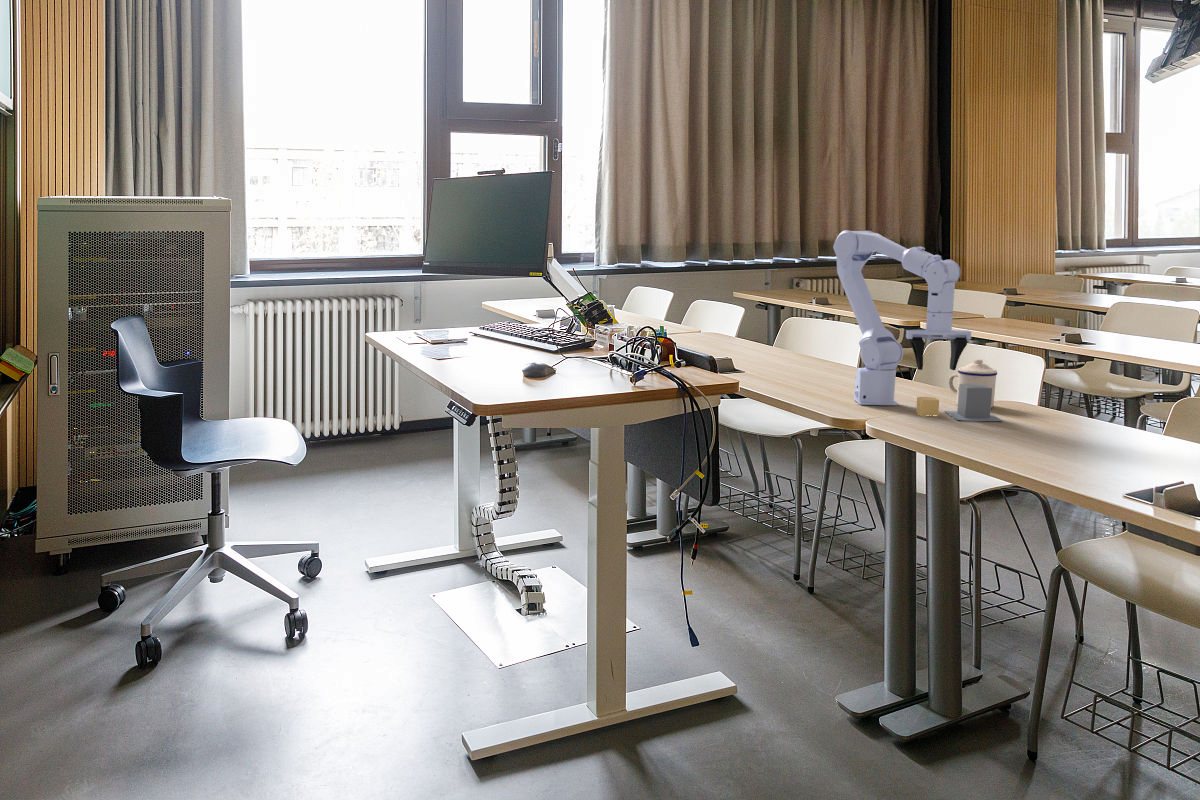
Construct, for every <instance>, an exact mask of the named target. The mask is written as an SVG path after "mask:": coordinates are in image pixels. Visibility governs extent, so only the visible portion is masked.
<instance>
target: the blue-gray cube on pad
mask: <svg viewBox="0 0 1200 800" xmlns="http://www.w3.org/2000/svg"><path fill="white" fill-rule="evenodd" d="M991 398H992V388H991V387H989V386H986V385H984V384H960V385H959V398H958V405H957V413H958V414H960V415H961V416H963V417H964V418H990V413H991V409H992V408H991Z"/></svg>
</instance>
